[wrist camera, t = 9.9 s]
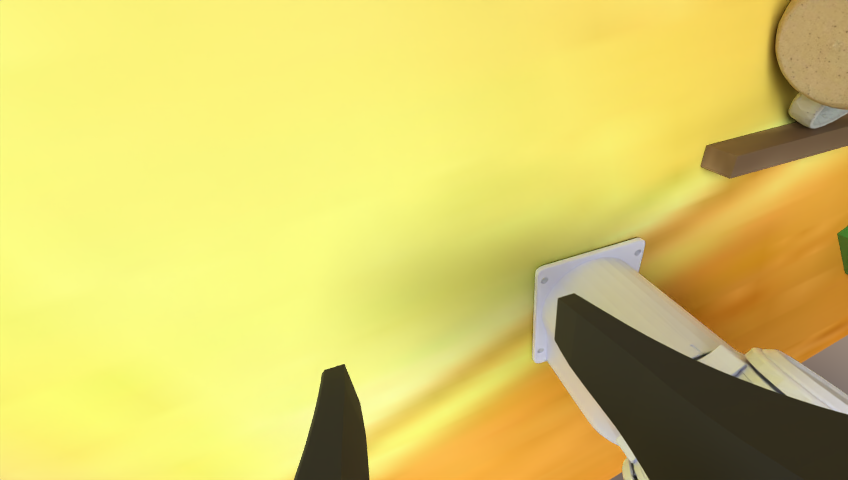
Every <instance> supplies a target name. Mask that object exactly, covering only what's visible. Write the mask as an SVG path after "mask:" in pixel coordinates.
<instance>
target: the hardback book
mask: <svg viewBox="0 0 848 480" xmlns="http://www.w3.org/2000/svg"><path fill="white" fill-rule="evenodd" d="M837 235H838V240H839V245H840V250H841V255H842V260H843V265H844V270H845V273H846V274H848V226H847V227H846V228H844V229H843V230H842V231H841V232H839V233H838V234H837Z"/></svg>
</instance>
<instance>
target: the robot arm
mask: <svg viewBox="0 0 848 480" xmlns="http://www.w3.org/2000/svg"><path fill="white" fill-rule="evenodd" d="M644 247H645V241H644V240H643V239H641V238H635V239H632V240H628V241H625V242H621V243H618V244H615V245H611V246H608V247H604V248H601V249H598V250H594V251H591V252H587V253H584V254H580V255H577V256H574V257H570V258H567V259H563V260H560V261H557V262H553V263H550V264H546V265H543V266H540V267H539V268H538V269H537V270H536V272H535V292H534V320H533V347H532V359H533V361H534V362H535V363H541V362H544V361H548V363H549V364H550V366H551V367H552V369H553V370H554V372H555V373H556V375H557V376H558V378H559V379H560V381H561V382H562V383H563V385H564V386H565V388H566V389H567V391H568V392H569V394H570V395H571V397H572V398H573V400H574V401H575V403H576V404H577V405H578V407H579V408H580V410H581V411H582V413H583V414H584V416H585V417H586V419H587V420H588V422H589V423H590V424H591V425H592V427H593V428H594V429H595V430H596V431H597V432H598V433H599V434H601V435H602V436H603V437H605V438H606V439H608V440H609V441H611V442H612V443H614V444H616V445H618V446H620V448H621V449H622V450H623V452H624V453H625V455H626V456H627V458H626V459H625V461H624V462H623V466H622V472H623V478H624V480H848V395H847V394H845V393H844V392H843V391H841V390H840V389H838V388H837V387H835V386H834V385H832V384H831V383H830V382H828V381H826V380H825V379H824V378H822V377H821V376H819V375H818V374H816V373H815V372H813V371H812V370H810V369H809V368H807V367H806V366H804V365H803V364H801V363H800V362H798V361H796V360H795V359H793V358H792V357H790V356H788V355H787V354H785V353H783V352H781V351H779V350H776V349H761V348H752V349H751V350H750V351H748V352H747V353H746V354H742V353H740V352H738V351H736V350H735V349H734V348H732V347H731V346H730V345H729V344H727V343H726V342H725V341H724V340H722V339H721V338H720V337H719V336H717V335H716V334H715V333H713V332H712V331H711V330H710V329H708V328H707V327H706V326H705V325H703V324H702V323H701V322H700V321H698V320H697V319H696V318H695V317H693V316H692V315H691V314H690V313H688V312H687V311H686V310H685V309H683V308H682V307H681V306H680V305H678V304H677V303H676V302H675V301H673V300H672V299H671V298H670V297H668V296H667V295H666V294H665V293H663V292H662V291H661V290H660V289H658V288H657V287H656V286H655V285H653V284H652V283H651V282H650V281H648V280H647V279H646V278H644V277H643V276H642V275H641V274H639V269H640V264H641V260H642V256H643V252H644ZM543 278H544V279H543ZM294 480H369V468H368V455H367V442H366V433H365V428H364V422H363V416H362V411H361V406H360V402H359V399H358V397H357V394H356V392H355V389H354V387H353V384H352V382H351V379H350V377H349V374H348V372H347V369H346V367H345V364H343V365H340V366H336V367H333V368H330V369H327V370H324V372H323V373H322V377H321V384H320V389H319V394H318V399H317V403H316V407H315V412H314V416H313V420H312V423H311V427H310V430H309V434H308V438H307V441H306V445H305V448H304V451H303V454H302V457H301V460H300V463H299V466H298V469H297V472H296V475H295V478H294Z"/></svg>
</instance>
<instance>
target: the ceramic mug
mask: <svg viewBox="0 0 848 480" xmlns="http://www.w3.org/2000/svg"><path fill="white" fill-rule="evenodd" d="M775 51H776V57H777V61H778V64H779V67H780V69H781V72H782V74H783V75H784V77H785V78H786V79H787V81H788V82H789V83H790V85H791V86H792V87H793V88H795V89H796V90H797V91H798V92H799V93H798V94H797V95H796V97H795V98H794V99H793V101H792V104H791V105H790V108H789V115H790V116H791V117H792V118H794V119H795V120H796V121H798V122H799V123H801V124H802V125H804V126H806V127H808V128H812V129H815V128H819V127H822V126H825V125H826V124H828V123H831V122H833V121H835V120H837V119H838V118H840V117H842V116H844V115H845V114H847V113H848V0H791V2H790V3H789V5H788V6H787V8H786V10H785V12H784V14H783V16H782V18H781V20H780V22H779V24H778V29H777V34H776V44H775Z"/></svg>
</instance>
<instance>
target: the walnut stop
mask: <svg viewBox="0 0 848 480" xmlns="http://www.w3.org/2000/svg"><path fill="white" fill-rule="evenodd" d="M845 146H848V113H847V114H845V115H844V116H842V117H840V118H838V119H837V120H835V121H833V122H831V123H828V124H826V125H825V126H822V127H819V128H815V129H812V128H808V127H806V126H804V125H802V124H801V123H799V122H795V123H791V124H787V125H783V126H780V127H776V128H772V129H768V130H764V131H760V132H757V133H753V134H749V135H745V136H741V137H737V138H734V139H730V140H726V141H722V142H718V143H714V144H711V145H707V147H706V150H705V153H704V157H703V160H702V164H701V167H703V168H705V169H708V170H710V171H713V172H715V173H718V174H720V175H723V176H725V177H727V178H734V177H737V176H741V175H744V174H748V173H751V172H755V171H759V170H762V169H766V168H769V167H773V166H777V165H780V164H784V163H787V162H791V161H795V160H798V159H802V158H805V157H809V156H813V155H816V154H820V153H823V152H827V151H831V150H834V149H838V148H841V147H845Z"/></svg>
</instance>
